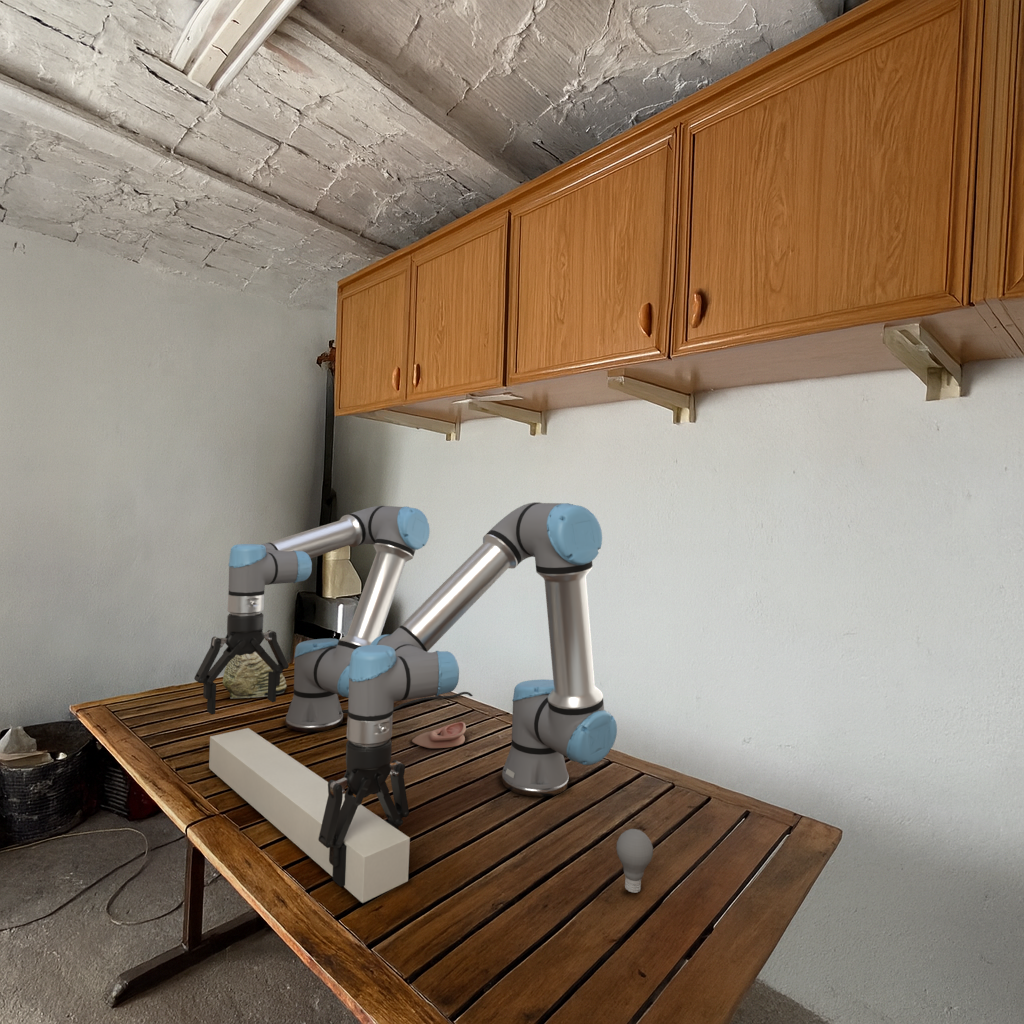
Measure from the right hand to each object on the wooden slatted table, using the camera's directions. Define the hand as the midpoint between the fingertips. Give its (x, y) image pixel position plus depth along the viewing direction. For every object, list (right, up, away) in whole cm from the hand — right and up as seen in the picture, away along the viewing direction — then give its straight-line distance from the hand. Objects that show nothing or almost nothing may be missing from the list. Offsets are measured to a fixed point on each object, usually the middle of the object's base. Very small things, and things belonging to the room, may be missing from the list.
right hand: (363, 871), depth 107 cm
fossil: (-55, +4, +91) cm, 106 cm away
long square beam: (-18, +1, +18) cm, 26 cm away
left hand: (-36, +17, +36) cm, 54 cm away
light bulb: (+45, -3, -2) cm, 45 cm away
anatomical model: (+6, 0, +60) cm, 60 cm away
